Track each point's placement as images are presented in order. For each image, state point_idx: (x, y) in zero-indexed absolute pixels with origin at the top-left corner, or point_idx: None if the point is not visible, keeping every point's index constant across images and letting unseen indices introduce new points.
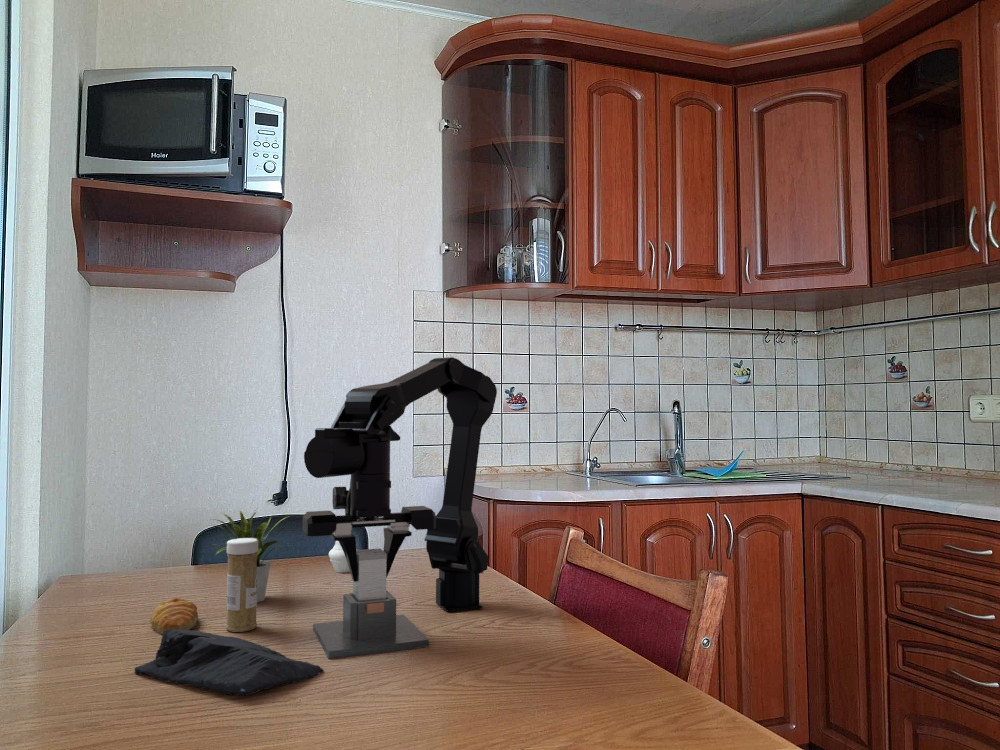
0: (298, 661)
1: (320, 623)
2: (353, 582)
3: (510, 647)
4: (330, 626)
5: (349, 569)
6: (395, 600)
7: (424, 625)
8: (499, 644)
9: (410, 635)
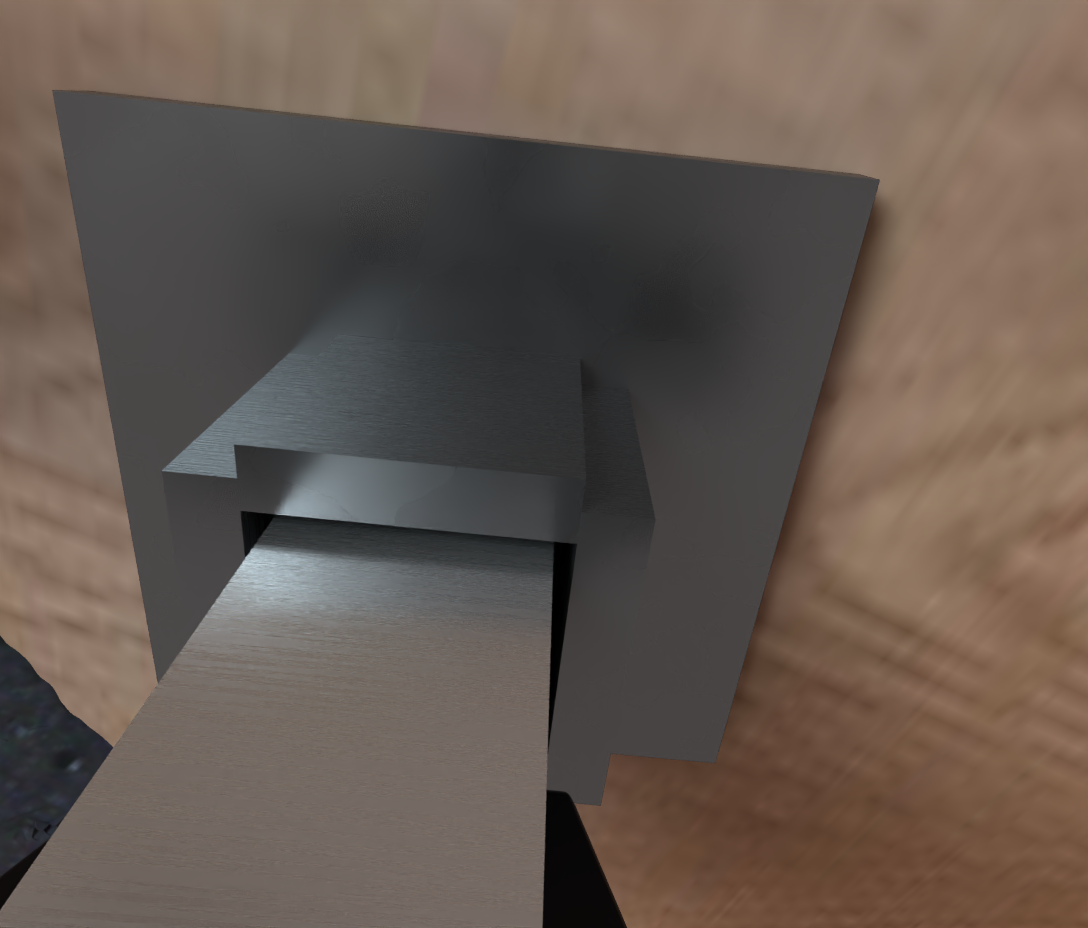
0: (1, 865)
1: (117, 117)
2: (207, 626)
3: (1034, 871)
4: (199, 250)
5: (33, 859)
6: (594, 793)
7: (925, 369)
8: (1027, 827)
9: (658, 670)
